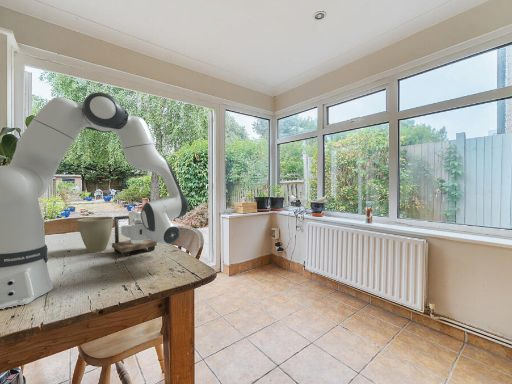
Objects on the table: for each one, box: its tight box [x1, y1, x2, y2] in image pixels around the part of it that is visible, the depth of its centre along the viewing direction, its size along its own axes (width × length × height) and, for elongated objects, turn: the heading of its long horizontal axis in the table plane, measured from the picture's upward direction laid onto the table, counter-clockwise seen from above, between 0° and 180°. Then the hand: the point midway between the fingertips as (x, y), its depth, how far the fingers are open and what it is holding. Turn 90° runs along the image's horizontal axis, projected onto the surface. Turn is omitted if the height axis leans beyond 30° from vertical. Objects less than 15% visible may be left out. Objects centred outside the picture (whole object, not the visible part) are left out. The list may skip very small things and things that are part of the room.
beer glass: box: [127, 211, 144, 244], centre depth 112 cm, size 7×7×15 cm
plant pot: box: [76, 216, 115, 253], centre depth 115 cm, size 15×15×16 cm
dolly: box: [111, 215, 158, 258], centre depth 113 cm, size 16×13×17 cm
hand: (140, 225), depth 108 cm, fingers open, 8 cm apart
